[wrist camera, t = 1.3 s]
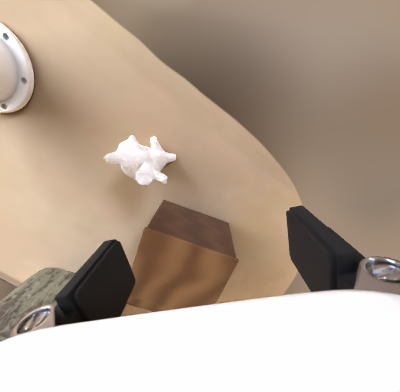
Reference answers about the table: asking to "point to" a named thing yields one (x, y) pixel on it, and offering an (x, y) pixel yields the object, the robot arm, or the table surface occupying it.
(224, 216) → the table surface
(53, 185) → the table surface
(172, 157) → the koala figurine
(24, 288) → the spike-topped wooden block
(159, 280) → the step shelf
